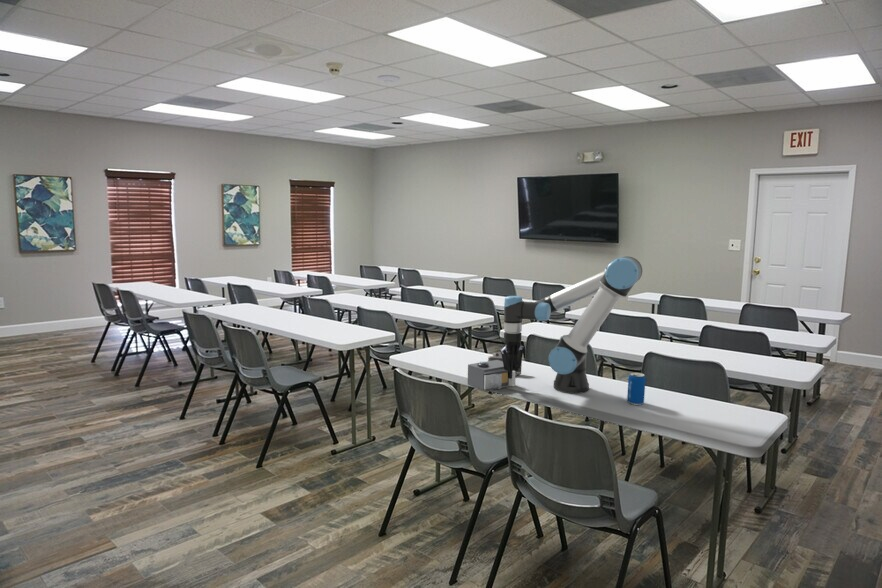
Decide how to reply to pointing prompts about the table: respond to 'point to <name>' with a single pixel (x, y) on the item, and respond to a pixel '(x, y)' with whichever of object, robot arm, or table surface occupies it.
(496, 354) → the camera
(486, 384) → the side door
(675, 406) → the table surface
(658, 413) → the table surface
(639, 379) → the beverage can
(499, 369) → the sliding door box
